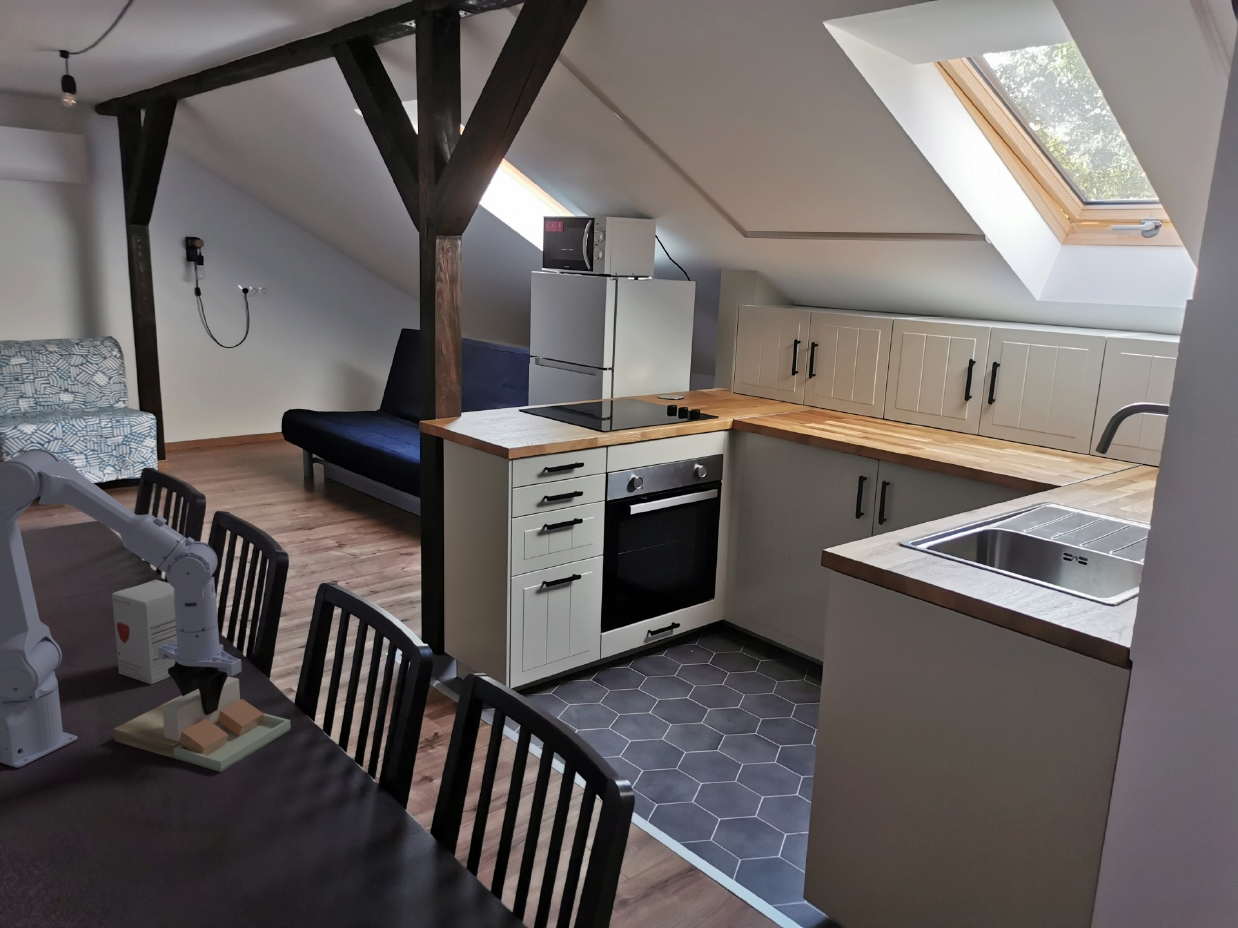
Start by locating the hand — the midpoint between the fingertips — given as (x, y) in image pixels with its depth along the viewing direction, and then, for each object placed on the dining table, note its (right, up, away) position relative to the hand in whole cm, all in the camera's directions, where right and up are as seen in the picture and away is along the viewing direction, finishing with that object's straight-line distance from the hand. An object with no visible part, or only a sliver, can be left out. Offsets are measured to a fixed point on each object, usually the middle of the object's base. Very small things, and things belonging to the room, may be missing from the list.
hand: (202, 709), depth 143 cm
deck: (-4, -4, +3) cm, 6 cm away
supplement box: (-18, +1, +23) cm, 30 cm away
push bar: (0, -2, 0) cm, 2 cm away
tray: (+5, -5, -1) cm, 7 cm away
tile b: (+5, -3, +3) cm, 6 cm away
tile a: (+2, -4, -4) cm, 6 cm away
